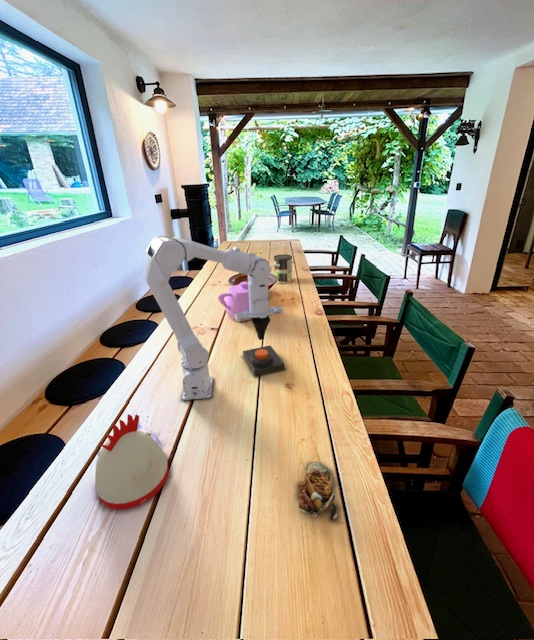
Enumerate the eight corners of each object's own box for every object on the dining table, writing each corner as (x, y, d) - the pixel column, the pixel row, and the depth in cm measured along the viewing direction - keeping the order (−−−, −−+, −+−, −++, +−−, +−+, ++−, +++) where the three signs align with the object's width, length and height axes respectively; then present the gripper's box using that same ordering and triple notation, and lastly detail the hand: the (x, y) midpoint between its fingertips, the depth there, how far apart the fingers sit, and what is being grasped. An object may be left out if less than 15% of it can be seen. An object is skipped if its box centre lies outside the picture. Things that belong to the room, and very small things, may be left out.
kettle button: (269, 358, 102) (269, 353, 101) (257, 361, 100) (257, 356, 100) (265, 352, 105) (265, 348, 104) (253, 355, 104) (253, 350, 103)
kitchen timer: (182, 467, 69) (171, 412, 63) (128, 522, 59) (108, 462, 52) (139, 443, 76) (124, 392, 70) (83, 489, 65) (61, 433, 59)
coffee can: (279, 284, 180) (278, 259, 174) (271, 279, 189) (270, 255, 183) (295, 281, 184) (295, 257, 178) (286, 276, 192) (286, 253, 187)
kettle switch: (284, 369, 102) (284, 358, 100) (254, 376, 99) (254, 365, 98) (270, 350, 113) (270, 340, 112) (243, 356, 110) (242, 346, 109)
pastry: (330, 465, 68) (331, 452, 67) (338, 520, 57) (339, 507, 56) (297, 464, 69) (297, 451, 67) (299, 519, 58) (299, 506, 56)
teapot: (213, 315, 144) (209, 283, 137) (254, 305, 153) (252, 274, 147) (236, 334, 126) (232, 298, 119) (281, 321, 135) (280, 287, 129)
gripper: (238, 305, 89) (241, 348, 94) (286, 297, 93) (287, 339, 99) (232, 297, 95) (235, 338, 100) (277, 290, 99) (278, 329, 105)
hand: (260, 338), depth 100 cm, fingers closed
